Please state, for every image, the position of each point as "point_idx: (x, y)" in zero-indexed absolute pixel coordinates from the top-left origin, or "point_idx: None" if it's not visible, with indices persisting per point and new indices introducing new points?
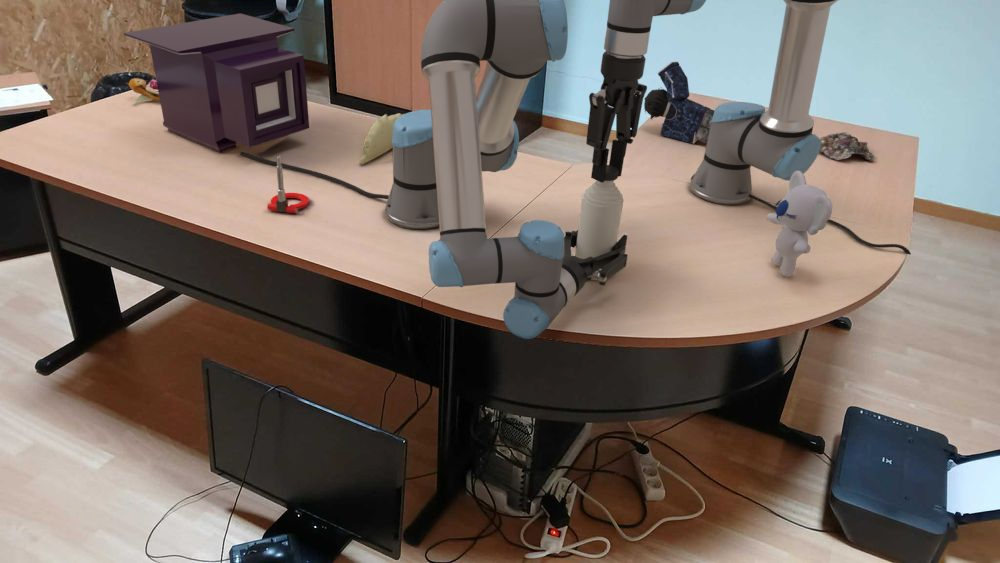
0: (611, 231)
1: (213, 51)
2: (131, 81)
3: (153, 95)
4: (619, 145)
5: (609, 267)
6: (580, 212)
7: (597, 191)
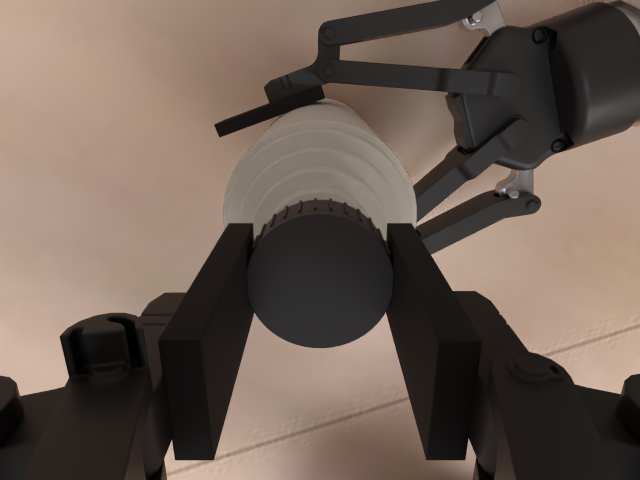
0: (336, 111)
1: None
2: None
3: None
4: (212, 368)
5: (443, 5)
6: None
7: None
